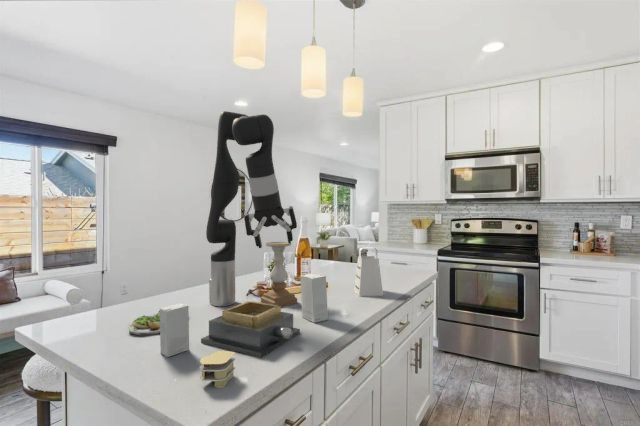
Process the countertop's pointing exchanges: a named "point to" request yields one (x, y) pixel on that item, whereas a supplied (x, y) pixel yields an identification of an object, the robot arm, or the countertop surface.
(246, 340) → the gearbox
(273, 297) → the candle holder
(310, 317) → the skincare box
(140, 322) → the salad plate
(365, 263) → the grater
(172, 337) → the skincare box
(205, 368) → the tan layered stack
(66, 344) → the countertop surface
